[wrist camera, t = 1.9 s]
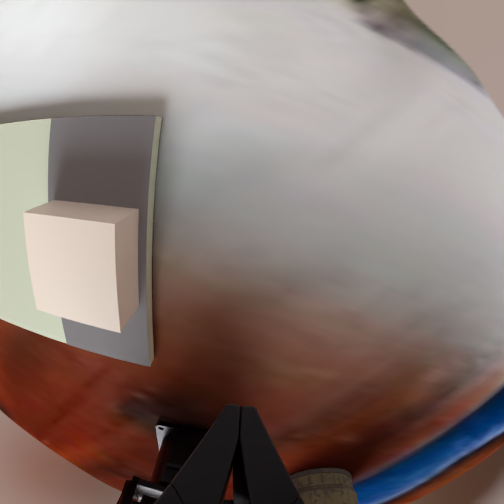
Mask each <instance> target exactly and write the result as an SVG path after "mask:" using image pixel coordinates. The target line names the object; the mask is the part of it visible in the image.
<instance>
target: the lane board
mask: <svg viewBox="0 0 504 504" xmlns="http://www.w3.org/2000/svg"><path fill="white" fill-rule="evenodd" d="M161 122H162V117H158V116H156V120H155V128H154V137H153V146H152V156H151V168H150V180H149V195H148V214H147V246H146V293H147V324H148V343H149V358H150V366H151V363H152V361H153V359H154V347H153V324H152V235H153V212H154V195H155V181H156V169H157V158H158V148H159V138H160V130H161ZM50 126H51V118H49V119H38V120H29V121H20V122H13V123H6V124H0V319H2V320H5V321H7V322H9V323H12V324H14V325H17V326H19V327H22V328H24V329H27V330H30V331H32V332H35V333H38V334H40V335H43V336H46V337H49V338H52V339H55V340H58V341H61V342H64V343H67V342H66V338H65V333H64V329H63V324H62V319H61V317H59V316H56V315H52V314H49V313H46V312H43V311H40V310H37V307H36V303H35V298H34V293H33V288H32V282H31V276H30V270H29V263H28V256H27V248H26V239H25V229H24V216H23V212H25V211H27V210H30V209H32V208H35V207H37V206H40V205H42V204H45V203H47V202H48V155H49V138H50Z"/></svg>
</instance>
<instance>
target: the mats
mask: <svg viewBox="0 0 504 504" xmlns="http://www.w3.org/2000/svg"><path fill="white" fill-rule="evenodd" d="M155 120H156V116H137V115H108V116H78V117H61V118H51V126H50V138H49V155H48V202H50V201H52V200H59V201H69V202H79V203H89V204H98V205H107V206H116V207H125V208H134V209H139V221H138V290H139V306H138V308H137V309H136V311H135V312H134V314H133V315H132V317H131V318H130V320H129V321H128V323H127V324H126V326H125V327H124V329H123V330H122V332H121V333H118V332H114V331H110V330H106V329H102V328H98V327H94V326H91V325H87V324H83V323H80V322H76V321H73V320H69V319H66V318H62V317H61V319H62V324H63V329H64V333H65V338H66V342H67V344H68V345H71V346H74V347H78V348H81V349H84V350H88V351H91V352H94V353H98V354H101V355H105V356H109V357H112V358H116V359H120V360H124V361H128V362H132V363H136V364H140V365H144V366H149V367H150V358H149V343H148V324H147V293H146V246H147V214H148V195H149V180H150V168H151V156H152V146H153V137H154V128H155Z"/></svg>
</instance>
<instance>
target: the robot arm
mask: <svg viewBox="0 0 504 504" xmlns="http://www.w3.org/2000/svg"><path fill="white" fill-rule="evenodd" d="M156 432H157V439H158V445H159V454H158V457H157V461H156V464H155V468H154V472H153V475H152V479H151V482H149V481H146V480H142V479H140V478H139V477H136V476H133V479H132V480H126V482H125V485H124V488H123V491H122V494H121V496H120V498H119V500H118V502H117V504H305V503H304V501H303V499H302V497H299V496H300V494H299V492H298V490H297V489H296V487H295V485H294V483H293V481H292V479H291V477H290V475H289V474H288V472H287V470H286V468H285V466H284V464H283V462H282V460H281V458H280V456H279V454H278V452H277V450H276V448H275V446H274V444H273V442H272V440H271V438H270V436H269V434H268V432H267V430H266V428H265V426H264V424H263V422H262V420H261V418H260V416H259V414H258V412H257V410H256V408H255V407H253V406H241V407H240V405H236V404H226V405H225V407H224V408H223V410H222V411H221V413H220V414H219V416H218V417H217V419H216V420H215V422H214V423H213V424H212V426H211V427H210V429H209V430H208V431H204V430H198V429H193V428H187V427H182V426H177V425H172V424H168V423H163V422H158V423H157V425H156ZM232 467H233V496H234V500H224V498H225V494H226V490H227V487H228V483H229V479H230V476H231V471H232ZM138 500H141V502H137V501H138Z"/></svg>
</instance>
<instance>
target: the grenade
mask: <svg viewBox="0 0 504 504" xmlns="http://www.w3.org/2000/svg"><path fill="white" fill-rule="evenodd" d="M290 477H291V479H292V481H293V483H294V485H295V487H296V489H297V490H298V492H299V494H300V496H299V497H302V499H303V501H304V503H305V504H358V500H357V494H356V492H355V491H354V489H353V485H352V476H351V474H350V473H349V472H348V471H346V470H344V469H339V468H317V469H310V470H305V471H302V472H298V473H295V474H292V475H290Z"/></svg>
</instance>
